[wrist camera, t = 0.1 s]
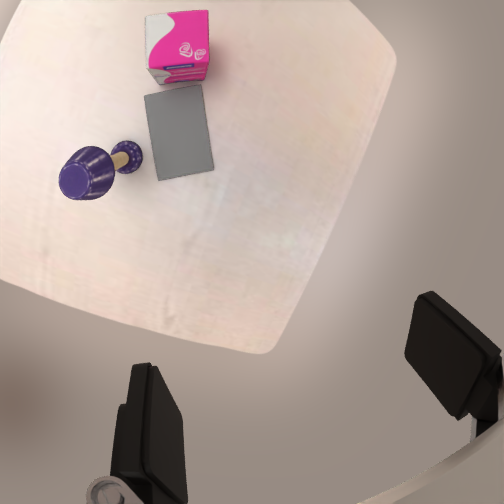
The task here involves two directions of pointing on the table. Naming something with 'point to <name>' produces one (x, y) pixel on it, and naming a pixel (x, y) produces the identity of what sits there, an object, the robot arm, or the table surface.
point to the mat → (178, 132)
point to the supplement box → (177, 46)
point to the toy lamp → (97, 170)
